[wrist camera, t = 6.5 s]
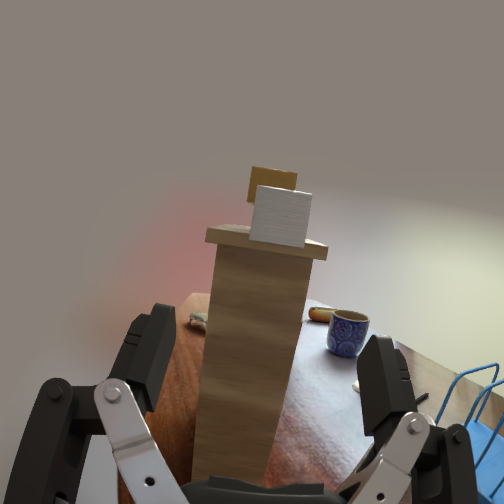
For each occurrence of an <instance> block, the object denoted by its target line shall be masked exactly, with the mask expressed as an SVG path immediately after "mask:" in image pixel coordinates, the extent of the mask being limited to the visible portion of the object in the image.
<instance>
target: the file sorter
mask: <svg viewBox="0 0 504 504" xmlns="http://www.w3.org/2000/svg"><path fill="white" fill-rule="evenodd" d="M493 366H496V372H495V375H494V378H493V381H492V383H491V384H490V385H488V386H486V387H485V388H484V389H483V390H482V391H481V393H480V394H479V396H478V397H477V399H476V400H475V402H474V404H473V407H472V409H471V411H470V413H469V415H468V417H467V419H466V422H465V423H463V424H461V425H463V426H464V427H465V428H466V429H467V430H468V432H469V435H470V439H471V445H472V451H473V457H474V464H475V472H476V480H477V490H478V501H479V504H504V438H503V437H501V436H500V435H498V434H497V433H498V431H499V430H500V428H501V426H502V424H503V422H504V413H503V415H502V417H501V419H500V421H499V423H498V425H497V427H496V429H495V430H494V431H492V430H491V429H489V428H488V427H487V426H485V425H484V424H482V423H481V422H479V421H478V418H479V416H480V414H481V412H482V410H483V408H484V406H485V404H486V401H487V399H488V397H489V395H490V392H491V390H492V388H493V387H495V386H497V385H500V384H502V383H504V379H502V380H500V381H497V382H495V380H496V378H497V374H498V372H499V364H497V363H492V364H488V365H484V366H480V367H477V368H474V369H469V370H466V371H463V372H462V373H460V374H459V375H458V376H457V377H456V378H455V379H454V381H453V382H452V384H451V386H450V388H449V390H448V393H447V395H446V398H445V400H444V402H443V405H442V407H441V409H440V411H439V414H438V416H437V418H436V420H435V424H436V426H437V424H438V422H439V420H440V418H441V416H442V413H443V411H444V409H445V407H446V404H447V402H448V400H449V397H450V395H451V393H452V390H453V388H454V386H455V385H456V383H457V382H458V380H459V379H460V378H461V377H462V376H464V375H466V374H469V373H473V372H476V371H479V370H483V369H486V368H490V367H493ZM487 391H488V393H487V395H486V397H485V399H484V402H483V404H482V406H481V408H480V410H479V412H478V414H477V416H476V419H472V420H470V419H471V417H472V415H473V413H474V411H475V409H476V407H477V405H478V403H479V401H480V399H481V398H482V396H483V395H484V394H485V393H486V392H487Z"/></svg>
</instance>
